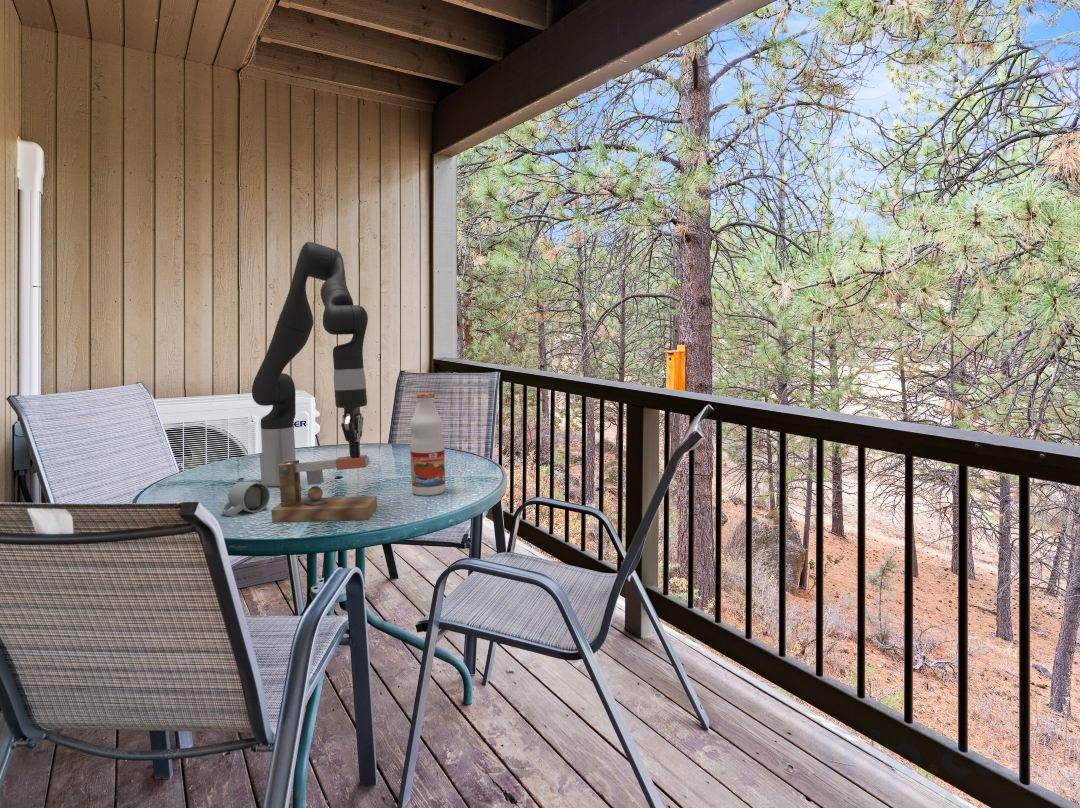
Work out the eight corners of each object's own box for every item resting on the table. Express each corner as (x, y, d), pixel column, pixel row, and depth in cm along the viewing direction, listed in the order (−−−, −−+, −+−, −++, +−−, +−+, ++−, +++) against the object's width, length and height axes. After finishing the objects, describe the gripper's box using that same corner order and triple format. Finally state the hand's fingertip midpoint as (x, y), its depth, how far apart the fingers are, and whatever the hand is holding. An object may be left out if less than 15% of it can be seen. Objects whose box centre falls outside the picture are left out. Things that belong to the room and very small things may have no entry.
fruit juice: (440, 486, 194) (437, 391, 190) (449, 493, 185) (446, 393, 182) (408, 490, 190) (404, 392, 187) (416, 497, 181) (412, 395, 178)
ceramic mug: (252, 504, 177) (250, 476, 176) (271, 508, 173) (269, 479, 172) (214, 514, 168) (212, 485, 167) (233, 519, 164) (231, 489, 163)
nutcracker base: (272, 522, 160) (268, 467, 159) (287, 509, 171) (284, 458, 170) (368, 519, 161) (365, 464, 160) (377, 507, 172) (374, 456, 171)
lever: (283, 487, 163) (280, 464, 163) (288, 484, 166) (284, 462, 166) (368, 479, 164) (366, 456, 163) (371, 476, 167) (368, 454, 166)
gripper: (359, 389, 156) (364, 461, 158) (371, 384, 170) (375, 451, 171) (327, 390, 156) (332, 462, 158) (341, 385, 169) (346, 452, 171)
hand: (355, 456), depth 165 cm, fingers closed
